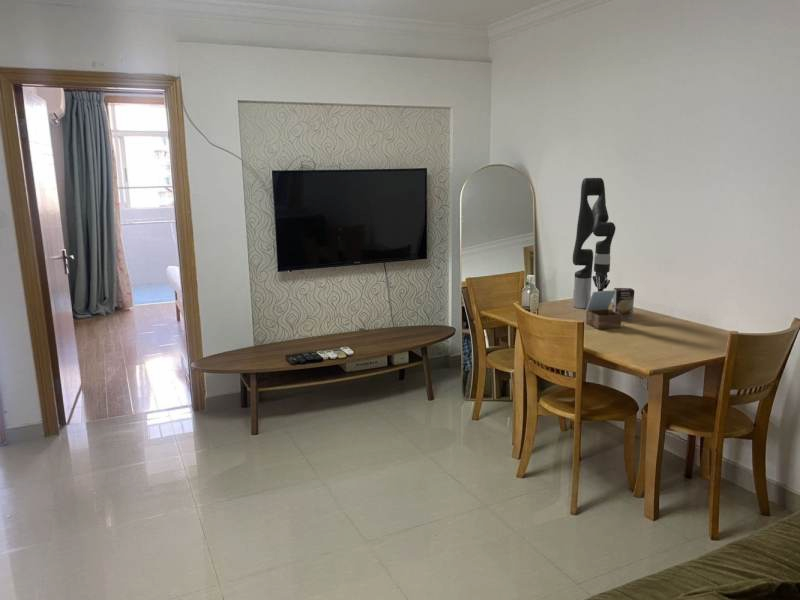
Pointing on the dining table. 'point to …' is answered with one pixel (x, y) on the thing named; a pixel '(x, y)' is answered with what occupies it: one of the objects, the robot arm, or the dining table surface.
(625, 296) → the coffee box
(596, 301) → the lid
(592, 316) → the box
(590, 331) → the dining table surface
